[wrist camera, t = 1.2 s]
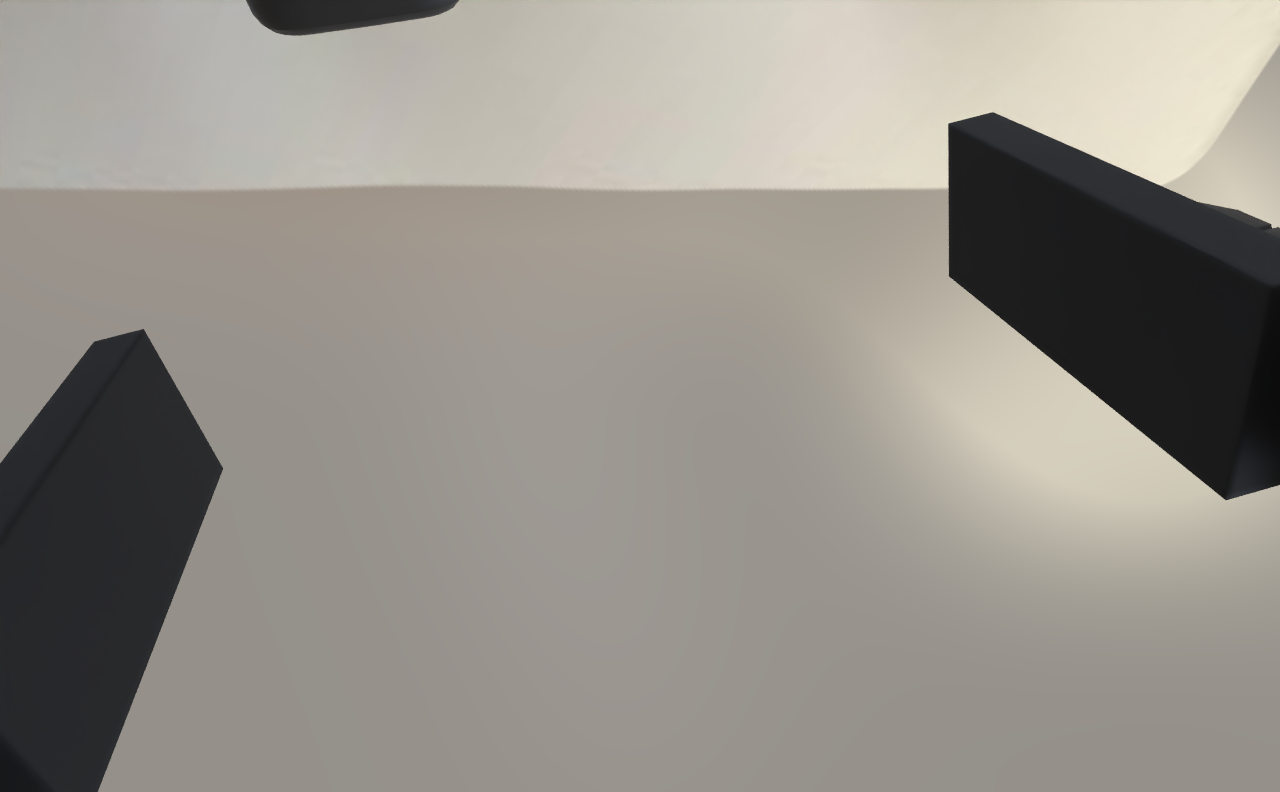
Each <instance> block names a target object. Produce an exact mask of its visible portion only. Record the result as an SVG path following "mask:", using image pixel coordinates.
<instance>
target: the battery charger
mask: <svg viewBox="0 0 1280 792" xmlns="http://www.w3.org/2000/svg"><path fill="white" fill-rule="evenodd" d="M246 1H247V3H248V5H249V7H250V9H251V12H252V14H253V15H254V16H255V17H256V18H257V19H258V20H259V22H260V23H261V24H262V25H264V26H265V27H267V28H268V29H270V30H272V31H274V32H276V33H279V34H284V35H293V36H295V35H310V34H317V33H325V32H332V31H339V30H346V29H354V28H361V27H368V26H375V25H381V24H388V23H394V22H401V21H407V20H414V19H420V18H426V17H431V16H435V15H439V14H441V13H444V12H446V11H448V10H450V9H451V8H453V7H454V6H455V5H456V3H457V2H458V1H459V0H246Z"/></svg>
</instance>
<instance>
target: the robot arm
mask: <svg viewBox="0 0 1280 792" xmlns="http://www.w3.org/2000/svg"><path fill="white" fill-rule="evenodd" d="M948 143H949V277H951V278H952V279H953V280H954V281H956V282H957V283H958V284H959V285H960V286H962V287H963V288H964V289H966V290H967V291H968V292H969V293H970V294H972V295H973V296H974V297H975V298H977V299H978V300H979V301H980V302H981V303H983V304H984V305H985V306H987V307H988V308H989V309H990V310H991V311H993V312H994V313H995V314H996V315H998V316H999V317H1000V318H1001V319H1003V320H1004V321H1005V322H1006V323H1008V324H1009V325H1010V326H1011V327H1012V328H1014V329H1015V330H1016V331H1017V332H1019V333H1020V334H1021V335H1022V336H1024V337H1025V338H1026V339H1027V340H1029V341H1030V342H1031V343H1032V344H1033V345H1035V346H1036V347H1037V348H1038V349H1040V350H1041V351H1042V352H1043V353H1045V354H1046V355H1047V356H1048V357H1050V358H1051V359H1052V360H1053V361H1054V362H1056V363H1057V364H1058V365H1059V366H1061V367H1062V368H1063V369H1064V370H1066V371H1067V372H1068V373H1069V374H1071V375H1072V376H1073V377H1074V378H1075V379H1077V380H1078V381H1079V382H1080V383H1082V384H1083V385H1084V386H1086V387H1087V388H1088V389H1089V390H1091V392H1093V393H1094V394H1095V395H1096V396H1098V397H1099V398H1100V399H1101V400H1103V401H1104V402H1105V403H1106V404H1108V405H1109V406H1110V407H1111V408H1113V409H1114V410H1115V411H1116V412H1118V413H1119V414H1120V415H1121V416H1123V417H1124V418H1125V419H1126V420H1128V421H1129V422H1130V423H1131V424H1132V425H1134V426H1135V427H1136V428H1137V429H1139V430H1140V431H1141V432H1142V433H1143V434H1145V435H1146V436H1147V437H1148V438H1150V439H1151V440H1152V441H1153V442H1155V443H1156V444H1157V445H1158V446H1159V447H1161V448H1162V449H1163V450H1164V451H1166V452H1167V453H1168V454H1169V455H1171V456H1172V457H1173V458H1174V459H1176V460H1177V461H1178V462H1179V463H1181V464H1182V465H1183V466H1184V467H1186V468H1187V469H1188V470H1189V471H1190V472H1192V473H1193V474H1194V475H1195V476H1197V477H1198V478H1199V479H1200V480H1201V481H1203V482H1204V483H1205V484H1206V485H1208V486H1209V487H1210V488H1212V489H1213V490H1214V491H1215V492H1216V493H1218V494H1219V495H1220V496H1221V497H1223V498H1224V499H1225V500H1228V499H1232V498H1235V497H1239V496H1242V495H1246V494H1250V493H1253V492H1257V491H1260V490H1264V489H1267V488H1270V487H1274V486H1278V485H1280V228H1279V227H1277V228H1273V229H1272V227H1271V224H1269V223H1267V222H1265V221H1262V220H1260V219H1258V218H1255V217H1253V216H1250V215H1248V214H1246V213H1243V212H1241V211H1239V210H1235V209H1229V208H1224V207H1220V206H1214V205H1210V204H1204V203H1199V202H1196V201H1194V200H1191V199H1189V198H1187V197H1185V196H1182V195H1180V194H1178V193H1176V192H1173V191H1171V190H1169V189H1167V188H1164V187H1162V186H1160V185H1157V184H1155V183H1153V182H1151V181H1148V180H1146V179H1144V178H1141V177H1139V176H1137V175H1135V174H1132V173H1130V172H1128V171H1126V170H1123V169H1121V168H1119V167H1116V166H1114V165H1112V164H1110V163H1107V162H1105V161H1103V160H1100V159H1098V158H1096V157H1094V156H1091V155H1089V154H1087V153H1085V152H1082V151H1080V150H1078V149H1075V148H1073V147H1071V146H1069V145H1066V144H1064V143H1062V142H1060V141H1057V140H1055V139H1053V138H1050V137H1048V136H1046V135H1044V134H1041V133H1039V132H1037V131H1034V130H1032V129H1030V128H1028V127H1025V126H1023V125H1021V124H1019V123H1016V122H1014V121H1012V120H1009V119H1007V118H1005V117H1003V116H1000V115H998V114H996V113H993V112H992V113H988V114H984V115H980V116H976V117H973V118H969V119H965V120H961V121H957V122H953V123H949V124H948ZM222 470H223V467H222V466H221V464H220V462H219V461H218V459H217V457H216V455H215V454H214V452H213V450H212V448H211V447H210V445H209V443H208V441H207V439H206V438H205V436H204V434H203V433H202V431H201V429H200V427H199V425H198V424H197V422H196V420H195V418H194V417H193V415H192V413H191V411H190V410H189V408H188V406H187V404H186V403H185V401H184V399H183V397H182V396H181V394H180V392H179V390H178V389H177V387H176V385H175V383H174V381H173V380H172V378H171V376H170V375H169V373H168V371H167V369H166V368H165V366H164V364H163V362H162V360H161V359H160V357H159V355H158V353H157V352H156V350H155V348H154V346H153V345H152V343H151V341H150V339H149V338H148V336H147V334H146V332H145V331H144V329H142V330H139V331H135V332H130V333H126V334H123V335H118V336H115V337H111V338H107V339H103V340H99V341H95V342H94V343H93V344H92V345H91V346H90V348H89V349H88V350H87V352H86V353H85V354H84V356H83V357H82V358H81V359H80V361H79V362H78V364H77V365H76V366H75V367H74V369H73V370H72V371H71V372H70V374H69V375H68V376H67V378H66V379H65V380H64V382H63V383H62V384H61V385H60V387H59V388H58V389H57V391H56V392H55V393H54V394H53V396H52V397H51V398H50V400H49V401H48V402H47V404H46V405H45V406H44V407H43V409H42V410H41V412H40V413H39V414H38V416H37V417H36V418H35V419H34V421H33V422H32V423H31V424H30V426H29V427H28V428H27V430H26V431H25V432H24V434H23V435H22V436H21V437H20V439H19V440H18V441H17V443H16V444H15V445H14V446H13V448H12V449H11V450H10V452H9V453H8V454H7V456H6V457H5V458H4V460H3V461H2V462H1V463H0V792H98V789H99V787H100V784H101V782H102V779H103V777H104V774H105V771H106V769H107V766H108V764H109V761H110V759H111V756H112V753H113V751H114V748H115V746H116V743H117V741H118V738H119V735H120V733H121V730H122V727H123V725H124V723H125V720H126V717H127V715H128V712H129V710H130V707H131V705H132V702H133V699H134V697H135V694H136V692H137V689H138V687H139V684H140V681H141V679H142V676H143V674H144V671H145V669H146V666H147V663H148V660H149V658H150V656H151V653H152V651H153V648H154V645H155V643H156V640H157V638H158V635H159V632H160V630H161V627H162V625H163V622H164V619H165V617H166V614H167V612H168V609H169V607H170V604H171V602H172V599H173V596H174V594H175V591H176V589H177V586H178V584H179V581H180V578H181V576H182V573H183V571H184V568H185V565H186V563H187V560H188V557H189V555H190V553H191V550H192V547H193V545H194V542H195V540H196V537H197V535H198V532H199V529H200V527H201V524H202V522H203V519H204V516H205V514H206V511H207V509H208V506H209V504H210V501H211V499H212V496H213V493H214V491H215V488H216V486H217V483H218V480H219V478H220V475H221V473H222Z"/></svg>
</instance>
